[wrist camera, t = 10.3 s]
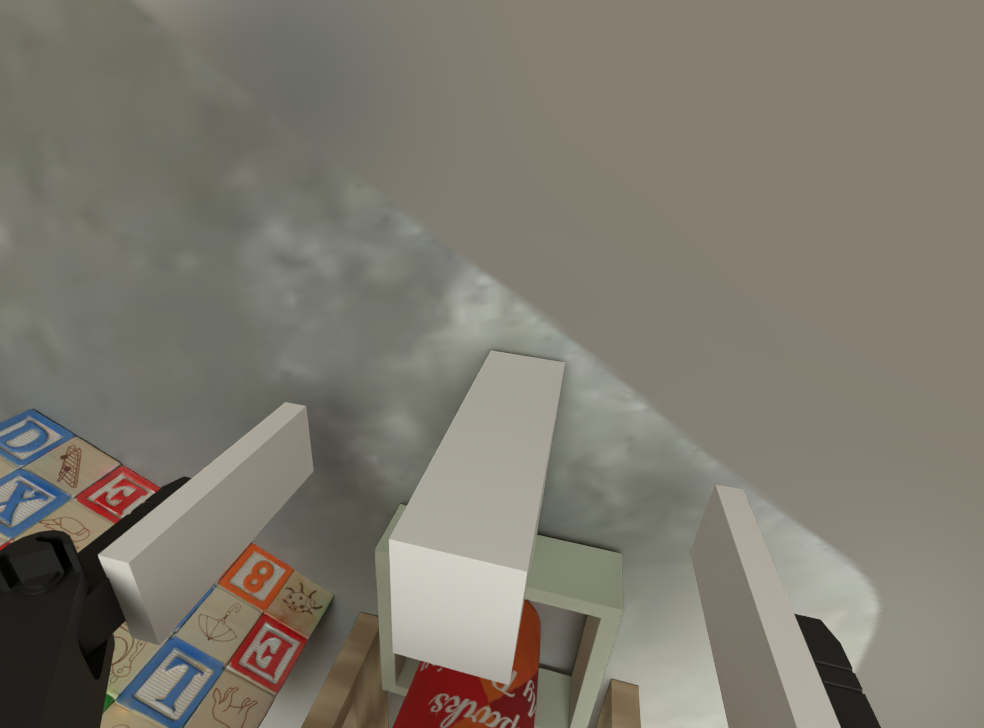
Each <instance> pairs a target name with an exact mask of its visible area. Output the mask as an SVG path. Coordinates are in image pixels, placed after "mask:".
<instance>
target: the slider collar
mask: <svg viewBox="0 0 984 728" xmlns="http://www.w3.org/2000/svg"><path fill="white" fill-rule="evenodd" d="M564 367H565V362H559V361H553V360H547V359H541V358H535V357H528V356H522V355H516V354H510V353H504V352H498V351H492V350H491V351H490V353H489V355H488V357H487V358H486V360H485V362H484V364H483V366H482V368H481V370H480V371H479V373H478V375H477V377H476V379H475V381H474V382H473V384H472V386H471V388H470V390H469V392H468V394H467V395H466V397H465V399H464V401H463V403H462V405H461V407H460V408H459V410H458V412H457V414H456V416H455V418H454V419H453V421H452V423H451V425H450V427H449V429H448V431H447V432H446V434H445V436H444V438H443V440H442V442H441V444H440V445H439V447H438V449H437V451H436V453H435V455H434V456H433V458H432V460H431V462H430V464H429V466H428V468H427V469H426V471H425V473H424V475H423V477H422V479H421V481H420V482H419V484H418V486H417V488H416V490H415V492H414V493H413V495H412V497H411V499H410V501H409V503H408V505H402V504H400V506H399V507H398V509H397V511H396V513H395V515H394V516H393V518H392V520H391V522H390V523H389V525H388V527H387V529H386V531H385V532H384V534H383V536H382V538H381V539H380V541H379V543H378V545H377V547H376V548H375V565H376V583H377V601H378V619H379V637H380V655H381V673H382V690H385V691H388V692H392V693H395V694H398V695H402V696H405V697H406V695H407V692H408V690H409V687H410V685H411V683H412V680H413V678H414V675H415V673H416V671H417V668H418V666H419V664H420V661H424V662H428V663H431V664H435V665H438V666H442V667H446V668H449V669H453V670H456V671H460V672H463V673H467V674H471V675H474V676H478V677H481V678H485V679H489V680H492V681H496V682H499V683H503V684H506V685H509V684H510V679H511V673H512V667H513V662H514V656H515V650H516V645H517V639H518V633H519V628H520V622H521V616H522V611H523V605H524V599H526V600H530V601H534V602H538V603H542V604H546V605H550V606H554V607H558V608H562V609H566V610H570V611H574V612H578V613H583V614H587V615H588V616H587V620H586V624H585V627H584V631H583V635H582V639H581V643H580V647H579V650H578V654H577V658H576V662H575V666H574V670H573V673H572V677H571V676H567V675H564V674H560V673H556V672H553V671H549V670H545V669H542V668H539V672H538V688H537V703H536V718H535V728H587V727H588V724H589V721H590V718H591V714H592V711H593V708H594V705H595V702H596V698H597V695H598V692H599V689H600V686H601V682H602V679H603V676H604V673H605V670H606V666H607V663H608V660H609V657H610V654H611V651H612V647H613V644H614V641H615V638H616V635H617V631H618V628H619V625H620V622H621V619H622V615H623V612H624V596H623V570H622V554H621V553H616V552H612V551H607V550H603V549H598V548H594V547H590V546H585V545H581V544H576V543H572V542H567V541H563V540H558V539H554V538H549V537H545V536H541V535H537V532H538V526H539V520H540V514H541V508H542V501H543V495H544V489H545V483H546V477H547V471H548V465H549V459H550V453H551V447H552V441H553V434H554V428H555V422H556V416H557V410H558V404H559V398H560V392H561V386H562V380H563V374H564Z"/></svg>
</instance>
